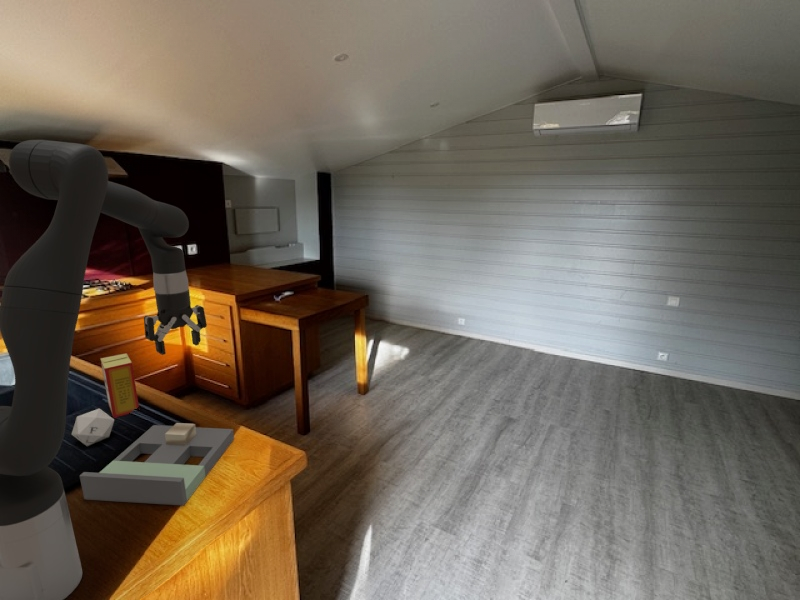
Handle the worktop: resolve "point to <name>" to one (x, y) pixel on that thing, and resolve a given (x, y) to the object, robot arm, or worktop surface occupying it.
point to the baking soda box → (119, 384)
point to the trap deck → (157, 468)
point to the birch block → (180, 434)
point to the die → (92, 427)
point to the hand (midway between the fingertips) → (179, 349)
